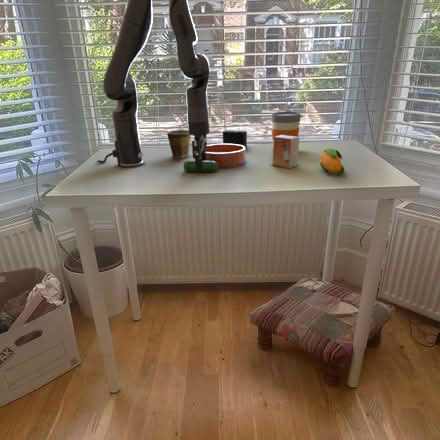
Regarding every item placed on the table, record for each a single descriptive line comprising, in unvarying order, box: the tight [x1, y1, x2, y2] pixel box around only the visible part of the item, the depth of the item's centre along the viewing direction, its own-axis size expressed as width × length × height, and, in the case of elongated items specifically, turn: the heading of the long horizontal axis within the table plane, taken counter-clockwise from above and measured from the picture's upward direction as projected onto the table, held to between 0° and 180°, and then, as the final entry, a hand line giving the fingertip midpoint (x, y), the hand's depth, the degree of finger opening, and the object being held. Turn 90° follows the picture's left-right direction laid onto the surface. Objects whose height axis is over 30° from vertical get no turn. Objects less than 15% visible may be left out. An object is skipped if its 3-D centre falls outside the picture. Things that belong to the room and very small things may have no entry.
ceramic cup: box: [166, 129, 192, 159], centre depth 171 cm, size 13×10×10 cm
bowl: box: [205, 143, 246, 169], centre depth 160 cm, size 18×18×6 cm
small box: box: [272, 135, 300, 169], centre depth 151 cm, size 8×6×10 cm
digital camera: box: [222, 129, 248, 148], centre depth 185 cm, size 10×5×7 cm, turn 66°
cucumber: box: [182, 160, 219, 173], centre depth 149 cm, size 13×4×4 cm, turn 81°
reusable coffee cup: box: [270, 111, 302, 144], centre depth 173 cm, size 13×13×15 cm
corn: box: [319, 148, 345, 176], centre depth 141 cm, size 7×8×20 cm
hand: (201, 166), depth 149 cm, fingers open, 8 cm apart
